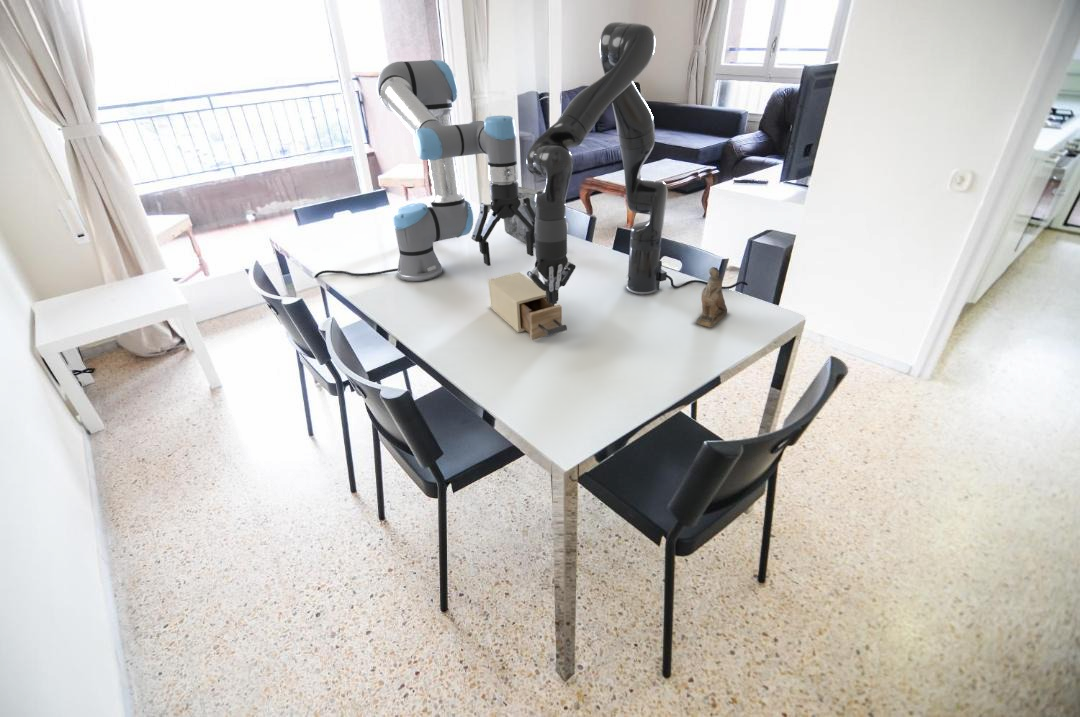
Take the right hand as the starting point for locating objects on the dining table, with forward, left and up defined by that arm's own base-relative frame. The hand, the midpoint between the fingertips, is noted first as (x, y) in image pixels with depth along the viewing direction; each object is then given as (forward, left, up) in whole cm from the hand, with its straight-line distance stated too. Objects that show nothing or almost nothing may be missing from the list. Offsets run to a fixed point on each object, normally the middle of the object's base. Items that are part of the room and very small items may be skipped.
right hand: (552, 303), depth 125 cm
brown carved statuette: (-46, +7, -12) cm, 48 cm away
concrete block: (-25, -78, -12) cm, 83 cm away
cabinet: (+2, -19, -12) cm, 23 cm away
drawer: (+1, -9, -11) cm, 14 cm away
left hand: (+3, -24, +4) cm, 24 cm away
